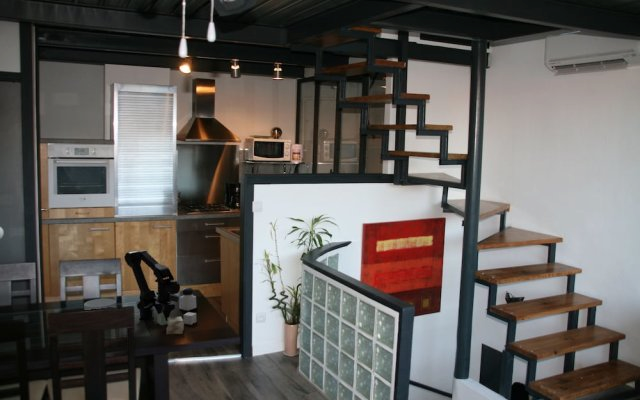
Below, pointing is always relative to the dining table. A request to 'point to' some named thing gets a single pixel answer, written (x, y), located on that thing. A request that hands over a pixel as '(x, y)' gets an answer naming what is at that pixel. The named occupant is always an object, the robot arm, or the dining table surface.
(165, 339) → the dining table surface
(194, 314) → the grey cube
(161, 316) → the sage cube
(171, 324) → the birch slab
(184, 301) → the medicine bottle
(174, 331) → the oak slab
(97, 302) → the cereal bowl
